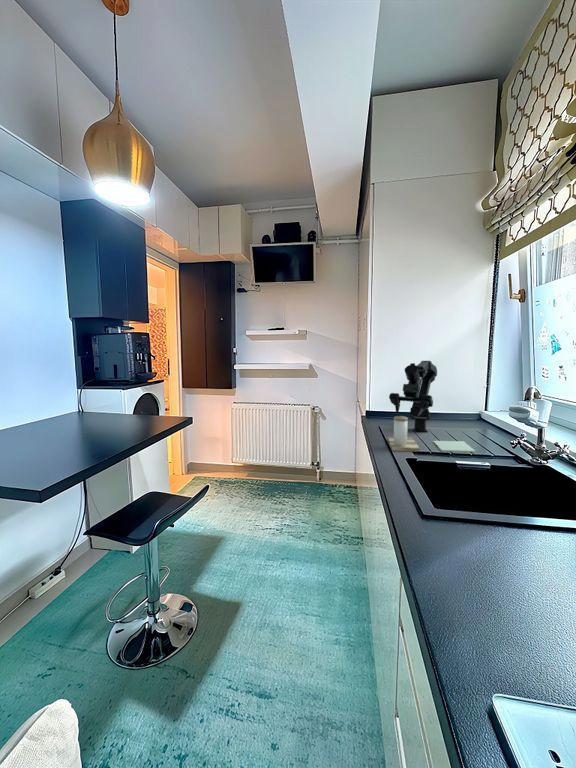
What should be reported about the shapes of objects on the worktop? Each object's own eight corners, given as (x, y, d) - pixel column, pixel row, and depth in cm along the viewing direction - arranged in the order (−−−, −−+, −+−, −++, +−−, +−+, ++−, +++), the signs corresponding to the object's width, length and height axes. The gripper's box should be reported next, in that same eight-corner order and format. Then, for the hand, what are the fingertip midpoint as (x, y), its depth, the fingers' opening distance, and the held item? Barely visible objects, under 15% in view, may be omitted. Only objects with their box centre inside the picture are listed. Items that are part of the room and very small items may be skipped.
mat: (433, 442, 148) (433, 440, 148) (463, 442, 146) (464, 441, 146) (441, 451, 136) (441, 449, 135) (475, 452, 133) (475, 450, 133)
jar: (392, 442, 145) (392, 415, 144) (406, 442, 144) (406, 416, 142) (394, 446, 139) (394, 418, 138) (408, 446, 138) (409, 419, 137)
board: (387, 440, 153) (387, 436, 153) (412, 440, 151) (412, 437, 151) (392, 450, 138) (392, 447, 137) (419, 451, 136) (419, 448, 135)
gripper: (390, 376, 154) (382, 403, 146) (432, 377, 143) (426, 407, 136) (395, 389, 161) (388, 416, 154) (435, 392, 150) (429, 420, 143)
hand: (406, 414), depth 146 cm, fingers open, 9 cm apart
